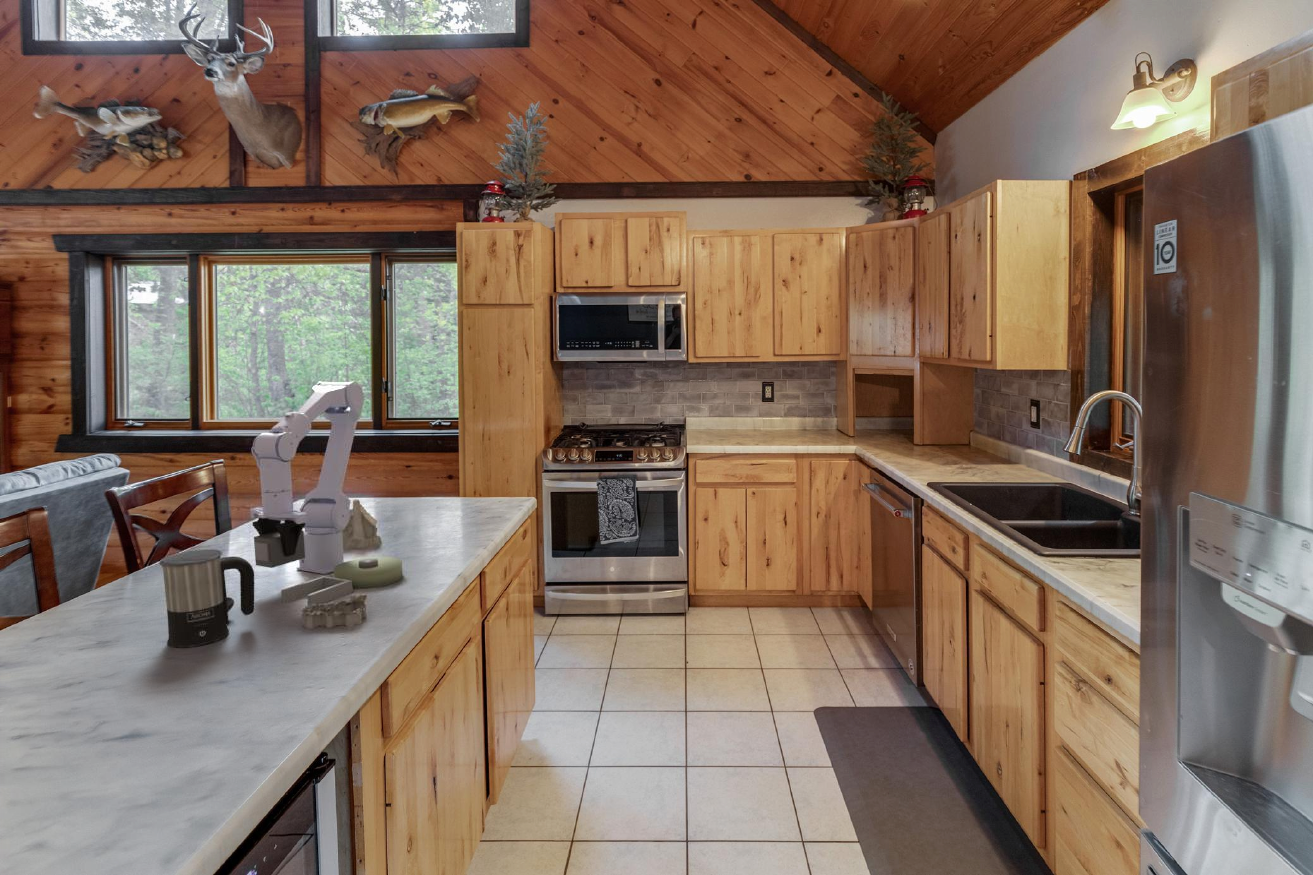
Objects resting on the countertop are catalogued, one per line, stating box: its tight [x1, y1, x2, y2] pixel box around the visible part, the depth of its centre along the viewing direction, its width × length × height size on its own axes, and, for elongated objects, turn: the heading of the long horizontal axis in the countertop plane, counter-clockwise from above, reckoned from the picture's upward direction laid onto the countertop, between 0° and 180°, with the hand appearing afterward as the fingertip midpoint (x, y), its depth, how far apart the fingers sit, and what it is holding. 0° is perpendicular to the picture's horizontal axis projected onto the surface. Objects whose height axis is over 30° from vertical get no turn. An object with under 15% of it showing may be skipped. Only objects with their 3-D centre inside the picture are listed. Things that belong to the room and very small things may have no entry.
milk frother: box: [158, 549, 255, 648], centre depth 130 cm, size 14×16×15 cm
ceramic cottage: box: [342, 499, 382, 551], centre depth 192 cm, size 16×16×15 cm
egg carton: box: [300, 594, 368, 629], centre depth 135 cm, size 11×8×4 cm
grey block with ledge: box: [253, 529, 305, 569], centre depth 153 cm, size 8×5×6 cm, turn 156°
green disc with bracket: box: [280, 556, 403, 605], centre depth 156 cm, size 14×26×4 cm, turn 156°
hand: (280, 553), depth 153 cm, fingers closed on grey block with ledge, 5 cm apart
